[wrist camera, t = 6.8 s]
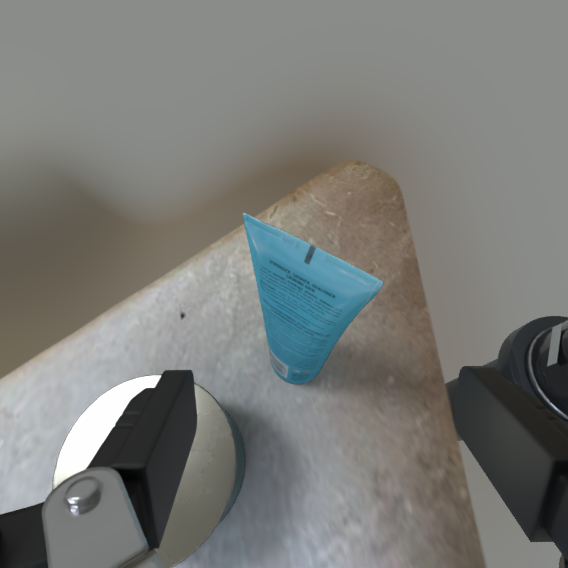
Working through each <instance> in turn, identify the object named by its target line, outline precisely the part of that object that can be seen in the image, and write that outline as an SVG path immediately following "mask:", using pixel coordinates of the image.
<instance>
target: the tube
mask: <svg viewBox="0 0 568 568" xmlns="http://www.w3.org/2000/svg"><path fill="white" fill-rule="evenodd" d="M243 218H244V225H245V229H246V234H247V238H248V243H249V247H250V252H251V257H252V262H253V266H254V271H255V276H256V281H257V286H258V291H259V296H260V301H261V307H262V312H263V317H264V323H265V328H266V334H267V339H268V346H269V351H270V357H271V363H272V366H273V369H274V371H275V372H276V373H277V375H278V376H279V377H280V378H281V379H283V380H284V381H286V382H289V383H293V384H303V383H306V382H309V381H311V380H312V379H313V378H315V377H316V376H317V375H318V373H319V372H320V370H321V368H322V366H323V364H324V362H325V361H326V359H327V357H328V355H329V354H330V352H331V350H332V349H333V347H334V345H335V344H336V342H337V341H338V340H339V338H340V337H341V335H342V334H343V332H344V331H345V329H346V328H347V327H348V325H349V324H350V323H351V322H352V320H353V319H354V318H355V317H356V316H357V314H358V313H359V312H360V311H361V310H362V309H363V308H364V306H365V305H366V304H367V303H368V302H369V301H371V300H372V299H373V298H374V297H375V296H376V295H377V294H378V292H379V291H380V289H381V287H382V286H383V281H382V280H380V279H378V278H376V277H374V276H372V275H370V274H368V273H367V272H365V271H363V270H361V269H359V268H357V267H355V266H353V265H351V264H350V263H348V262H346V261H343V260H341V259H340V258H338V257H336V256H334V255H331V254H329V253H327V252H325V251H324V250H322V249H319V248H317V247H315V246H314V245H312V244H310V243H308V242H306V241H304V240H302V239H299V238H298V237H296V236H293V235H291V234H289V233H287V232H285V231H283V230H281V229H278V228H276V227H274V226H272V225H269V224H266V223H264V222H262V221H260V220H258V219H256V218H254V217H251V216H250V215H248V214H246V213H243Z"/></svg>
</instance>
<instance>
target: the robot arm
mask: <svg viewBox="0 0 568 568" xmlns="http://www.w3.org/2000/svg"><path fill="white" fill-rule="evenodd" d="M524 364H525V371H526V375H527V378H528V381H529V383H530V385H531V387H532V389H533V391H534V393H535V394H536V396H537V397H538V398H539V400H540V401H541V402H542V403H543V404H544V405H545V406H546V407H547V408H548V409H546V407H545V406H544V405H543V404H542V403H541V402H540V401H539V400H538V399H537V398H535V397H534V396H533V395H532V394H531V393H529V392H527V391H525V390H524V389H522V388H520V387H518V386H517V385H515V384H513V383H509V382H508V381H507V380H506V379H505V378H504V377H503V376H502V375H501V374H500V373H499V372H498V371H497V370H496V369H495V368H493V367H491V366H464V367H462V369H461V370H460V373H459V379H458V385H457V391H456V396H455V402H454V408H453V418H454V423H455V427H456V429H457V431H458V433H459V435H460V436H461V438H462V439H463V441H464V442H465V444H466V445H467V447H468V448H469V450H470V451H471V452H472V454H473V456H474V457H475V458H476V460H477V461H478V463H479V465H480V466H481V468H482V469H483V471H484V472H485V474H486V475H487V477H488V478H489V480H490V481H491V483H492V484H493V486H494V487H495V489H496V490H497V492H498V493H499V495H500V496H501V498H502V499H503V501H504V502H505V504H506V505H507V507H508V508H509V510H510V511H511V513H512V514H513V516H514V517H515V519H516V520H517V522H518V523H519V525H520V526H521V528H522V529H523V531H524V532H525V534H526V535H527V537H528V538H529V540H530V542H554V543H555V545H556V546H557V547H558V549H559V550H560V551H561V553H562V555H561V558H560V562H559V568H568V427H567V426H566V425H565V424H564V423H563V422H562V421H558V418H557V417H559V418H560V419H562V420H564V421H565V422H567V423H568V320H567V321H565V322H563V323H561V324H559V325H557V326H553V327H550V328H548V329H546V330H544V331H542V332H540V333H538V334H537V335H536V336H535V337H534V338H533V339H532V340H531V341H530V343H529V344H528V346H527V349H526V352H525V358H524ZM554 414H555V415H556V416H557V417H556V416H555V415H554ZM196 429H197V407H196V397H195V388H194V378H193V373H192V371H191V370H165V371H164V372H163V374H162V376H161V377H160V379H159V381H158V383H157V384H156V386H155V388H145V389H143V390H142V391H141V392H140V393H138V394H137V395H136V396H134V397H133V398H132V399H131V400H130V401H129V403H128V405H127V406H126V408H125V409H124V411H123V412H122V415H120V417H119V418H118V420H117V422H116V423H115V427H113V428H112V429H111V431H110V432H109V434H108V435H107V437H106V439H105V440H104V442H103V443H102V445H101V446H100V448H99V449H98V451H97V452H96V454H95V456H94V457H93V459H92V460H91V462H90V463H89V465H88V466H87V468H86V469H85V470H82V471H80V472H77V473H75V474H73V475H71V476H70V477H68V478H67V479H65V480H64V481H62V482H61V483H60V484H59V485H57V486H56V487H55V488H54V489H53V491H52V492H51V493H50V494H49V495H48V497H47V499H46V500H45V502H43V503H40V504H37V505H34V506H30V507H27V508H23V509H19V510H16V511H12V512H8V513H5V514H1V515H0V568H163V565H162V563H161V561H160V558H159V556H158V554H157V552H156V550H155V549H154V548H159V547H160V544H161V541H162V538H163V535H164V532H165V529H166V525H167V522H168V519H169V516H170V513H171V510H172V507H173V504H174V500H175V497H176V494H177V491H178V488H179V485H180V482H181V479H182V475H183V472H184V469H185V466H186V463H187V460H188V457H189V454H190V450H191V447H192V444H193V441H194V438H195V434H196Z"/></svg>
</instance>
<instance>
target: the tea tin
mask: <svg viewBox="0 0 568 568" xmlns="http://www.w3.org/2000/svg"><path fill="white" fill-rule="evenodd" d="M161 376H162V375H161V374H158V375H147V376H142V377H138V378H135V379H132V380H129V381H126V382H124V383H122V384H120V385H118V386H116V387H114V388H112V389H111V390H109V391H108V392H106V393H105V394H103V395H102V396H101V397H99V398H98V399H97V400H96V401H95V402H94V403H93V404H92V405H90V406H89V407H88V408H87V409H86V411H85V412H84V413H83V414H82V415H81V416H80V418H79V419H78V420H77V422H76V423H75V425H74V426H73V428H72V429H71V431H70V433H69V434H68V436H67V438H66V440H65V442H64V444H63V446H62V449H61V451H60V454H59V457H58V460H57V463H56V467H55V472H54V477H53V487H52V491H53V489H54V488H55V487H56V486H57V485H59V484H60V483H61V482H62V481H64V480H65V479H67V478H68V477H70V476H71V475H73V474H75V473H77V472H80V471H82V470H85V469H86V468H87V466H88V465H89V463H90V462H91V460H92V459H93V457H94V456H95V454H96V452H97V451H98V449H99V448H100V446H101V445H102V443H103V442H104V440H105V439H106V437H107V435H108V434H109V432H110V431H111V429H112V428H113V427H115V423H116V422H117V420H118V418H119V417H120V415H122V412H123V411H124V409H125V408H126V406H127V405H128V403H129V401H130V400H131V399H132V398H133V397H134V396H136V395H137V394H138V393H140V392H141V391H142V390H143V389H145V388H155V386H156V384H157V383H158V381H159V379H160V377H161ZM194 388H195V397H196V407H197V429H196V434H195V438H194V441H193V444H192V447H191V450H190V454H189V457H188V460H187V463H186V466H185V469H184V472H183V475H182V479H181V482H180V485H179V488H178V491H177V494H176V497H175V500H174V504H173V507H172V510H171V513H170V516H169V519H168V522H167V525H166V529H165V532H164V535H163V538H162V541H161V544H160V547H159V548H154V549H155V550H156V552H157V554H158V556H159V558H160V561H161V563H162V565H163V568H173V567H174V566H176V565H178V564H179V563H181V562H182V561H184V560H185V559H186V558H188V557H189V556H190V555H191V554H193V553H194V552H195V551H196V550H197V549H198V548H199V547H200V546H201V545H202V544H203V543H204V542H205V541H206V540H207V538H208V537H209V536H210V534H211V533H212V532H213V531H214V529H215V528H216V526H217V525H218V524H219V523H220V522H221V521H222V520H223V518H224V517H225V516H226V515H227V513H228V512H229V511H230V509H231V507H232V506H233V504H234V503H235V500H236V498H237V496H238V494H239V491H240V488H241V485H242V482H243V477H244V472H245V450H244V444H243V440H242V437H241V434H240V432H239V429H238V427H237V425H236V424H235V422H234V420H233V419H232V418H231V417H230V415H229V414H228V413H227V412H226V411H225V410H224V409H223V408H222V407H221V405H220V404H219V403H218V401H217V400H216V399H215V398H214V397H213V396H212V395H211V394H210V393H209V392H208V391H206V390H205V389H204V388H202V387H201V386H199V385H198V384H196V383H194Z"/></svg>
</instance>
